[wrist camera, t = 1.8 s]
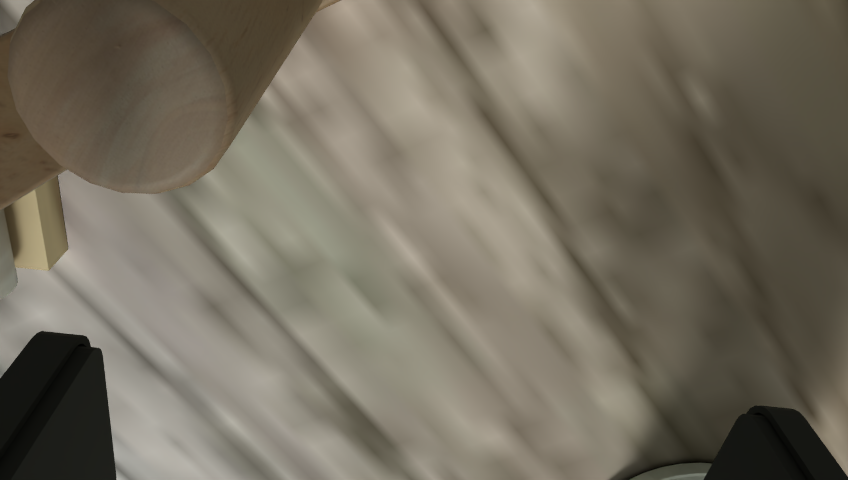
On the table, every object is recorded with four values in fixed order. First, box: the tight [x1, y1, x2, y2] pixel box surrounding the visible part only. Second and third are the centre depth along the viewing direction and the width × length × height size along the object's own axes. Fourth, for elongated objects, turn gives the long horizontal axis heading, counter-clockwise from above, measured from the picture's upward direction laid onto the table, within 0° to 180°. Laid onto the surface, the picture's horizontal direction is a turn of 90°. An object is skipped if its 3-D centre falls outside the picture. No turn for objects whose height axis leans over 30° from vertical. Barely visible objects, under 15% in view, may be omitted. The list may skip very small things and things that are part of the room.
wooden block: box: [0, 0, 340, 211], centre depth 19 cm, size 4×11×18 cm, turn 114°
